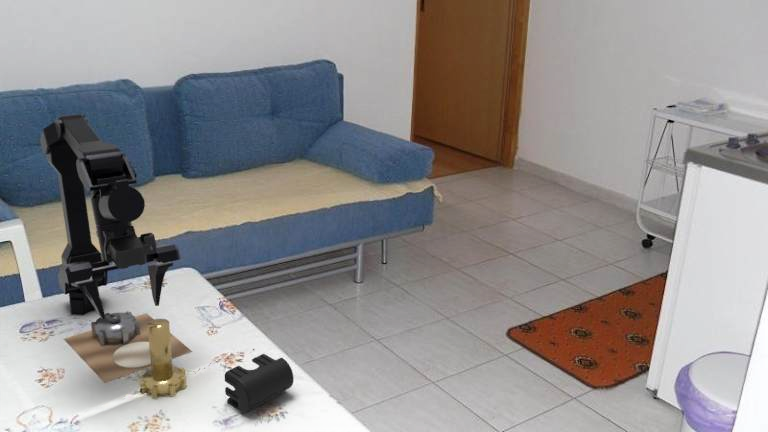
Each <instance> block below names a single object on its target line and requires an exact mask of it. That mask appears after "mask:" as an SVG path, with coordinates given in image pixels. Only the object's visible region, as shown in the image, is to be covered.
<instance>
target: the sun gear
mask: <svg viewBox="0 0 768 432" xmlns="http://www.w3.org/2000/svg"><path fill="white" fill-rule="evenodd" d="M104 314H105V319H101V317H100V316H99V318H97V319H96V321H92V322H91V324H90V325H91V330H92V336H93V338H96V340H97V341H98V342H99V343H100V346H104V347H105V346H106V345H119V344H123V345H126V344H129V341H131V340H133V339H134V338H135V337H136V335H140V322H139V319H136V318H135V315H133V313H132V312H131V311H127V310H126V312H112V313H111V312H110V313H109V312H106V313H105V312H104Z"/></svg>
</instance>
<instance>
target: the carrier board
mask: <svg viewBox="0 0 768 432" xmlns="http://www.w3.org/2000/svg"><path fill="white" fill-rule="evenodd" d="M134 316H135V315H134ZM135 318H136V319H139V322H140V335H136V337H135V338H134V339H133V340H131V341H129V344H126V345H123V344H119V345H106V346H105V347H104V346H100V343H99V342H98V341H97V340H96V338H93V336H92V329H90V330H87V331H84V332H81V333H78V334H75V335H72V336H71V335H70V336H68V337H65V338H63V341H64V342H65V343H67V344H68V345H69V347H70V348H71V349H72V350H73V351H74V352H75V353H76V354H77V355H78V356H79V357H80V359H81V360H83V361H84V363H86V365H87V366H88V367H89V368H90V369H91V370H92V371H93V372H94V373H95V375H97V376H98V377H99V378H100V379H101V380H102V382H103V383H104V384H106V383H109V382H111V381H114V380H117V379H120V378H122V377H125V376H129V375H131V374H133V373H137V372H139V371H142V370H144V369H147V368H148V369H149V368H151V359H150V348H149V336H148V323H149V322H150V321H152V320H154V319H155V318H153V317H152V316H151V315H149V314H148V313H146V312H145V313H143V314H139V315H136V316H135ZM170 341H171V354H172V360H173V359H176V358H179V357H182V356H184V355H188V354H190V353H192V352H193V350H191V349H190V348H189V347H188V346H186V344H185V343H183V342H182V341H180V340H179V339H178V338H177V337H176V336H175V335H173V334H172V333H171V332H170Z"/></svg>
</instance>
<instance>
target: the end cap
mask: <svg viewBox="0 0 768 432" xmlns="http://www.w3.org/2000/svg"><path fill="white" fill-rule="evenodd" d="M251 362H253V363H254V364H255V365H257V366H258V367H256V368H255V369H254V368H253V369H246V368H243V367H242V366H240V365H237V366H235V367H233V368H230V369H229V370H227V371H225V373H224V382H226V383H227V384H228V385H230V386H232V387H233V388H234V390H233V389H231V388H230V387H228V386H226V387H225V388H224V389H225V390H224V393H225V395H226V396H227V397H228V398H227V400H226V401H227V402H226V403H227V404H228V405H229V406H230V407H232V408H234V409H235V410H237V411H238V412H240V413H246V412H248V411H250V410H253V408H256V407H258V406H259V405H262V404H263V403H265V402H268V401H269V400H271V399H273V398H274V397H277V396H278V395H280V394H282V393H284V392H286V391H288V390H289V389H291V387H292V386H293V385H294V379H295V378H294V373H293V369H292V367H291V366H290V363H289V362H287V360H285V359H284V358H283V357H280V358H277V359H274V358H272V357H270V356H268V355H267V354H265V353H263V354H262V353H261V354H259V355H257V356H256V357H254V358H252V359H251Z"/></svg>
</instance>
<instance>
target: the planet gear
mask: <svg viewBox="0 0 768 432" xmlns="http://www.w3.org/2000/svg"><path fill="white" fill-rule="evenodd" d="M153 319H154V320H152V321H150V322H149V323H148V336H149V348H150V359H151V367H150V369H149V368H148V370H146V371H145V372H141V373H140V374H139V375H138V377H139V378H140V379H141V380H142V381H139V386H140V387H141V388H139V392H140V393H141V395H145V394H146V395H148V396H150V397H151V399H157V400H158V398H162V397H163V398H164V397H170V398H171V397H174V396H176V395H177V394H176V393H178V392H179V391H180V390H182V389H183V390H185V389H186V388H187V374H186V372H187V371H186V369H185V367H181V368H179V367H178V366H175V364H174V363H173V359H172V354H171V341H170V333H171V332H170V331H171V330H170V321H169V320H168V319H166V318H153Z"/></svg>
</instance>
